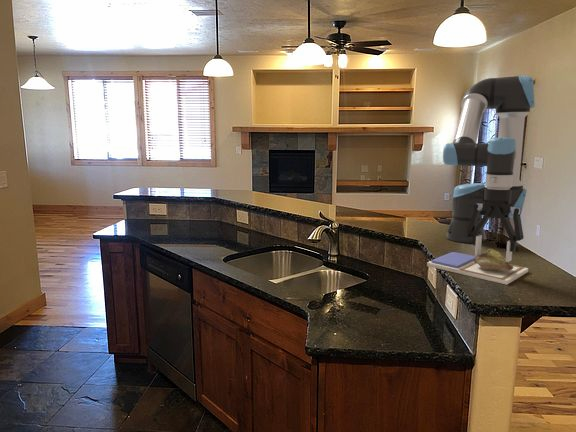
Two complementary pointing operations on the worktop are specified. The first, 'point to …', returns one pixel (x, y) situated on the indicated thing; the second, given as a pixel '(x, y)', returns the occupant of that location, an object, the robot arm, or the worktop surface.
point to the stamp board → (475, 268)
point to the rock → (492, 261)
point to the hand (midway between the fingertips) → (492, 257)
